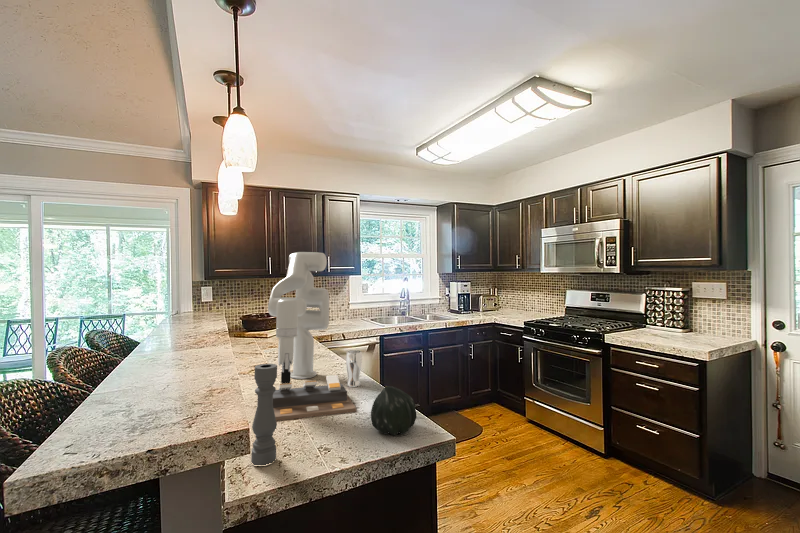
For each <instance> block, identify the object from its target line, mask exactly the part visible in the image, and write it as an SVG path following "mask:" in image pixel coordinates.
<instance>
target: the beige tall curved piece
mask: <svg viewBox="0 0 800 533" xmlns="http://www.w3.org/2000/svg"><path fill="white" fill-rule="evenodd" d="M362 354H363V353H362V350H357V349H350V350H347V351H346V357H345V358H346V359H345V362H346V363H345V364H346V365H345V366H346V373H347V382H346V386H347V387H348V386H349V388H358V387H360V386H361V379H360V377H361V376H360V375H361V372H362V363H363V361H362V360H363V358H362V357H363V356H362ZM357 386H358V387H357Z"/></svg>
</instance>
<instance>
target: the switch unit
mask: <svg viewBox="0 0 800 533" xmlns="http://www.w3.org/2000/svg"><path fill="white" fill-rule="evenodd" d="M340 386H341V389H340V390H331V391H329V389H328V384H325V385H316V386H315V387H306V388H303V386H301V387H292V388H290V389H279V388H278V389H276V391H275V392H274V393H273V409H274V413H275V418H276V422H277V421H284V420H292V419H293V420H294V419H302V418H310V417H311V418H313V417H319V416H327V415H328V416H329V415H337V414H344V413H345V414H347V413H354V412H355V413H357V407H356V406H355V404H354V402H352V400H351V398H350V397H349V395H348V391H347V389H346V388H345V386H344V385H343V383H340Z"/></svg>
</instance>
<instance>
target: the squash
mask: <svg viewBox="0 0 800 533" xmlns="http://www.w3.org/2000/svg"><path fill="white" fill-rule="evenodd" d="M417 418H418V417H417V408H416V403H415V401H414V399H413V397H412V396H411V395H410V394H408V393H407V392H405V391H403V390H402V389H400V388H397V387H394V386H391V385H388V386H387V385H385V386H384V387H383V389H382V390H381V392H379V394H377V396H376V398H375V399H374V401H373V404H372V406H371V409H370V421H371V425H372V426H373V428H374V429H376V430H377V431H379V433H381V434H384V433H387V434H390V435H391V434H392V436H397V435H398V433H399V432H400V433H399V434H401V433H404V434H407V433H408V432H409V430H410V428H412V427H413V426H414V425H415V424H416V419H417ZM388 432H389V433H388ZM396 434H397V435H396Z"/></svg>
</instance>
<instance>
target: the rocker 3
mask: <svg viewBox="0 0 800 533" xmlns="http://www.w3.org/2000/svg"><path fill="white" fill-rule="evenodd" d="M338 375H339V374H334V375H333V374H331V375H326V376H325V377H326V378H325V379H326V383H327V384H326V385H328V389H329V391H331V390H340V389H341V386H340V384H341V382H340V379H339V376H338Z"/></svg>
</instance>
